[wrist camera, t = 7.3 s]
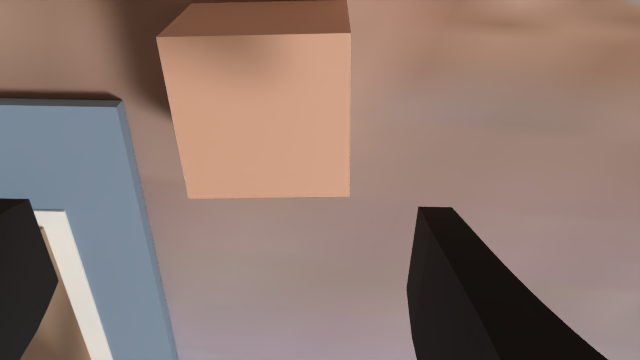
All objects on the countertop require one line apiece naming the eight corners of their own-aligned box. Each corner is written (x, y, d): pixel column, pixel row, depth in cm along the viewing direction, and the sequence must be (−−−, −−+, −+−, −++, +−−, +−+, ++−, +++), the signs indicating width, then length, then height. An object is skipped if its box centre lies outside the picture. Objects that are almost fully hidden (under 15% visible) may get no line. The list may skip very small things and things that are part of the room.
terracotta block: (346, 137, 19) (349, 196, 15) (214, 139, 19) (188, 198, 15) (346, -2, 16) (351, 32, 13) (192, 2, 16) (156, 37, 13)
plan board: (192, 424, 28) (189, 436, 28) (-33, 419, 28) (-40, 430, 28) (122, 100, 18) (115, 108, 17) (-236, 94, 18) (-256, 101, 17)
